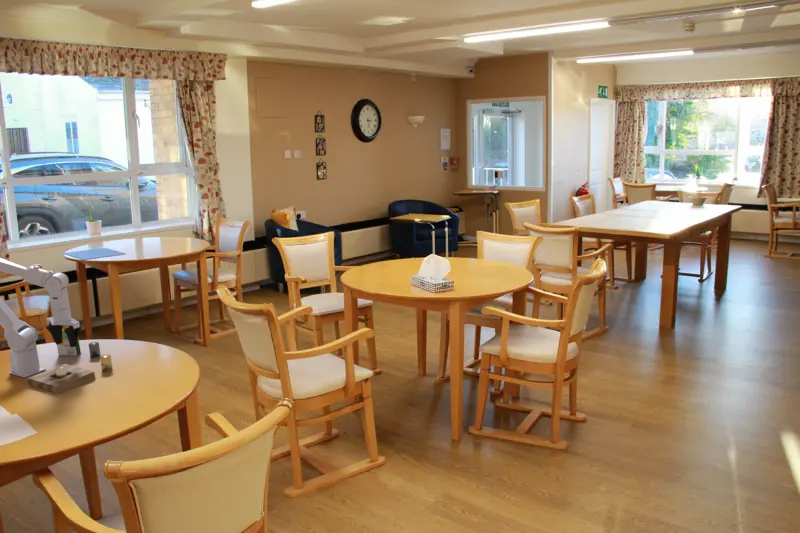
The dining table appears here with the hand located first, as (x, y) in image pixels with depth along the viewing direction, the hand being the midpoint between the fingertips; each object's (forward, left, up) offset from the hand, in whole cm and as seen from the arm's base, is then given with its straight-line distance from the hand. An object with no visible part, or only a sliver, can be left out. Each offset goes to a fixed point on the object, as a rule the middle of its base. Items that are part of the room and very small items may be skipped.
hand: (66, 345), depth 243 cm
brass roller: (+12, +6, -9) cm, 16 cm away
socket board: (+7, -8, -9) cm, 14 cm away
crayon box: (-15, +10, -10) cm, 21 cm away
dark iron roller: (-4, +13, -9) cm, 17 cm away
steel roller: (+7, -7, -9) cm, 14 cm away
